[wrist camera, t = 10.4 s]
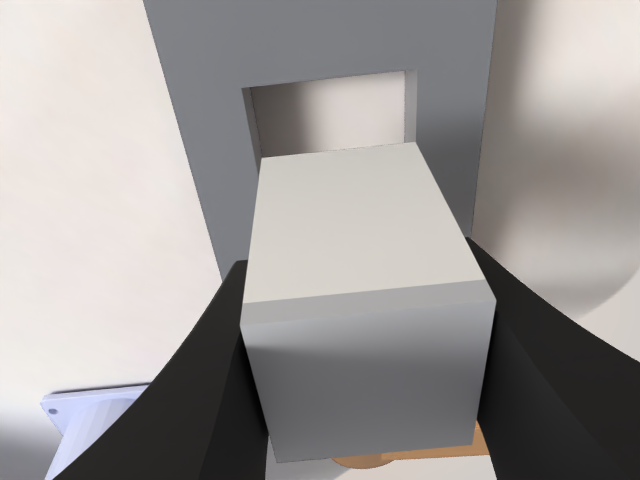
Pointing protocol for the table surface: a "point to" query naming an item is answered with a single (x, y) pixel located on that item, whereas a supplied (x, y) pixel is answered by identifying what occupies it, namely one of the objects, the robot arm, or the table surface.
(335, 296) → the plug
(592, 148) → the table surface
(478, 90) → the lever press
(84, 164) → the table surface
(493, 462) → the robot arm
